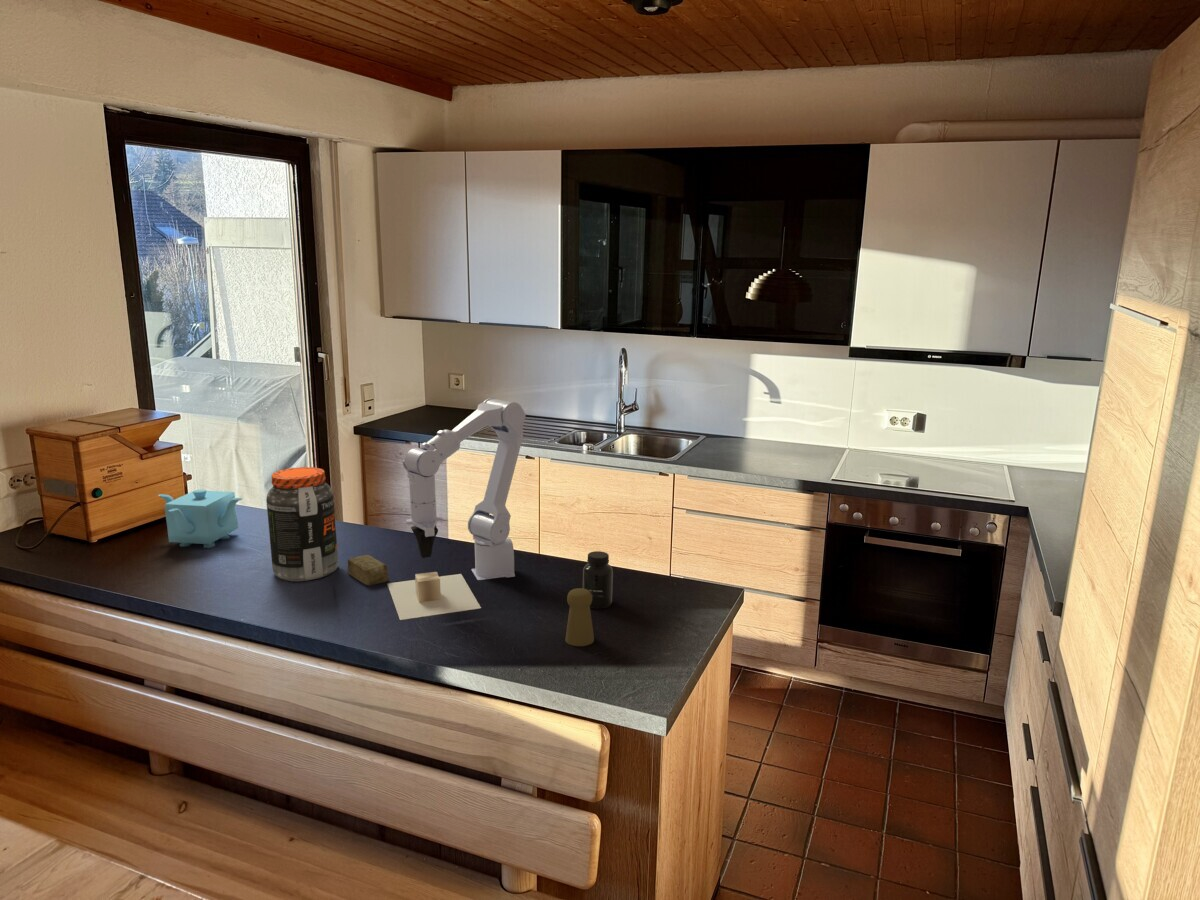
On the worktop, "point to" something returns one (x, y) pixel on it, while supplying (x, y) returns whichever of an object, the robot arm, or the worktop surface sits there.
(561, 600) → the worktop surface
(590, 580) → the supplement bottle
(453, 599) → the mat
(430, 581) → the cube
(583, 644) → the wooden peg doll
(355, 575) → the stone block
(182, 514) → the teakettle
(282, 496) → the supplement tub
